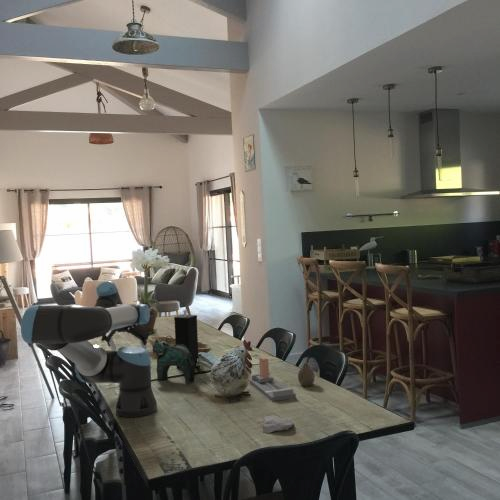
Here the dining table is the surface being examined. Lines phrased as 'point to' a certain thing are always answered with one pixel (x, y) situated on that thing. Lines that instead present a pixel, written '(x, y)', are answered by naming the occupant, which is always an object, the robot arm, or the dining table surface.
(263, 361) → the fader knob
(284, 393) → the console board
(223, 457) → the dining table surface
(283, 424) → the stone
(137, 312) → the robot arm
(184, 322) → the black rectangular column
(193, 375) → the teal animal figurine
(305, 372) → the vase
